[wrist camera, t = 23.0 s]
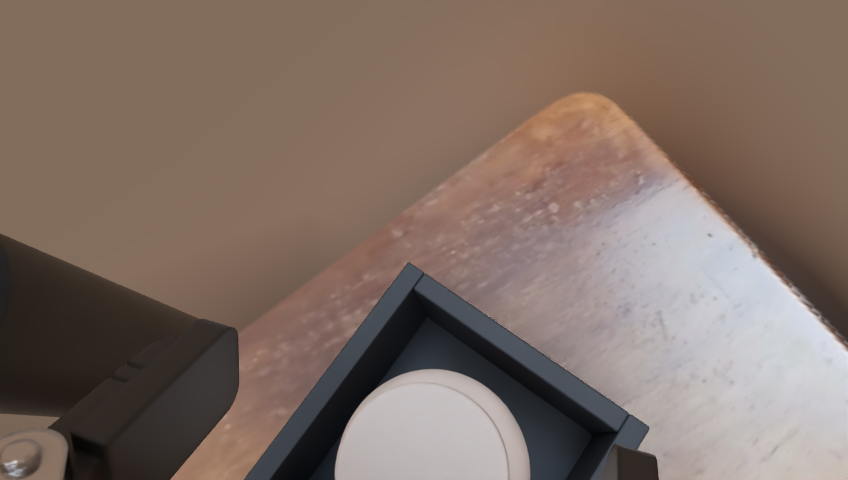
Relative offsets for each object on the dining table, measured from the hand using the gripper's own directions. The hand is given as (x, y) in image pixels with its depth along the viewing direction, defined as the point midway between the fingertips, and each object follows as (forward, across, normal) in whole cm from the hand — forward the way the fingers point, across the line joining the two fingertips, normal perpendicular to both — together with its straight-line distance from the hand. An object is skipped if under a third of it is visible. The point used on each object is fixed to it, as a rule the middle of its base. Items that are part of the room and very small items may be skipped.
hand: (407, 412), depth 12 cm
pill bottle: (+10, 0, +12) cm, 15 cm away
